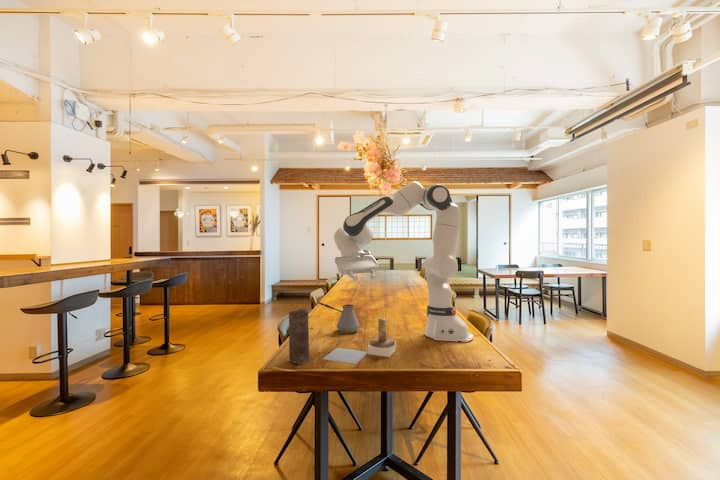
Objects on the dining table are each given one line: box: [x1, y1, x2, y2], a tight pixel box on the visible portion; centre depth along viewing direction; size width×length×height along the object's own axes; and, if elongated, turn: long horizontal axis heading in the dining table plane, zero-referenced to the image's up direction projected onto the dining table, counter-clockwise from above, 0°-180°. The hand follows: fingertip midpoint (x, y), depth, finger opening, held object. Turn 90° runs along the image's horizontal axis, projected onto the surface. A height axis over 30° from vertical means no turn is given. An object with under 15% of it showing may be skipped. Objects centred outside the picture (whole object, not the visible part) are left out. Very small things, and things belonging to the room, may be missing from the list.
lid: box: [369, 317, 396, 348], centre depth 139 cm, size 10×10×10 cm
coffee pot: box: [316, 301, 360, 334], centre depth 171 cm, size 21×12×15 cm, turn 97°
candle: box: [288, 308, 310, 365], centre depth 129 cm, size 8×7×20 cm
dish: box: [367, 341, 397, 358], centre depth 139 cm, size 9×9×4 cm
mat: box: [322, 347, 368, 365], centre depth 135 cm, size 14×14×1 cm
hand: (365, 279), depth 152 cm, fingers open, 8 cm apart
